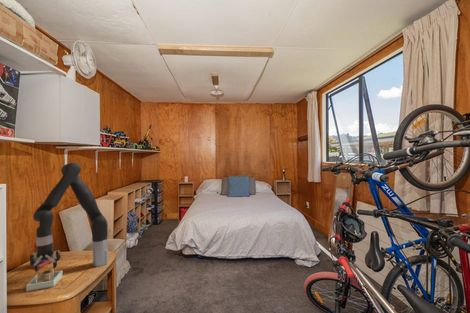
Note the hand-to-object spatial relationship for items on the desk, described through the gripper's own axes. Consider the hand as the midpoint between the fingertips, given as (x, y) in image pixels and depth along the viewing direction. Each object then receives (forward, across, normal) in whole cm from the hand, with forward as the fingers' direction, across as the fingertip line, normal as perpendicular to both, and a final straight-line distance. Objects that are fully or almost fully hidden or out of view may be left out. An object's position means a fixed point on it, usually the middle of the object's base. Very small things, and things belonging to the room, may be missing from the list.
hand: (46, 269), depth 136 cm
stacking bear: (+9, +14, -31) cm, 35 cm away
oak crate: (+8, +1, 0) cm, 8 cm away
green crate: (+8, +1, 0) cm, 9 cm away
